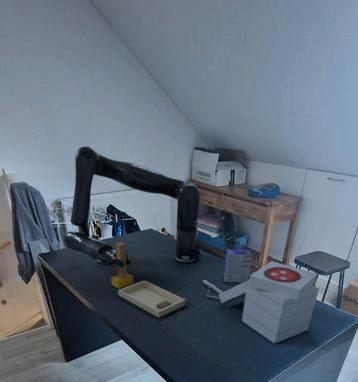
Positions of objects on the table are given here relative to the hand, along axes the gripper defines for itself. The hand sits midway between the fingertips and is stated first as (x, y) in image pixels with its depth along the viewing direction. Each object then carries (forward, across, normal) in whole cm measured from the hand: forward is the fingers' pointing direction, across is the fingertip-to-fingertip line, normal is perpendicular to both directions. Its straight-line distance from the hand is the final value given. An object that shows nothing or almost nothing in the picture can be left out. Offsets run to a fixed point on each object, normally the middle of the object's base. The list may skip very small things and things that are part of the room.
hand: (126, 263), depth 122 cm
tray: (+13, 0, +11) cm, 17 cm away
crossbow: (+24, +24, +11) cm, 35 cm away
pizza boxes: (+47, +20, +11) cm, 52 cm away
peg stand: (-3, 0, +9) cm, 10 cm away
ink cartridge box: (+23, +38, +11) cm, 46 cm away
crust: (+20, 0, +10) cm, 22 cm away
